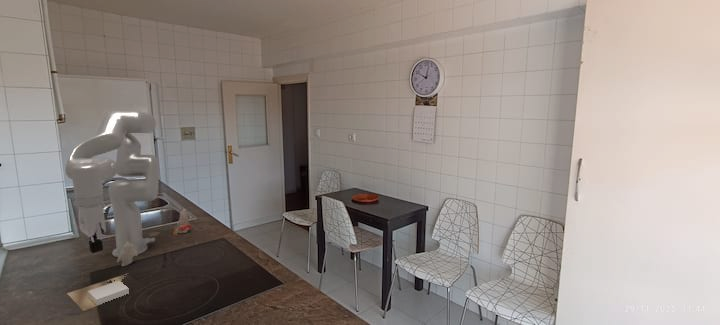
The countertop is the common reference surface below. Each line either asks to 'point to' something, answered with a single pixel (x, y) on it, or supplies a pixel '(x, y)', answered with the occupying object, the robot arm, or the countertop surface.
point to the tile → (108, 292)
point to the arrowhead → (127, 254)
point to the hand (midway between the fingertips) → (96, 250)
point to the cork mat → (82, 294)
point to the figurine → (182, 223)
